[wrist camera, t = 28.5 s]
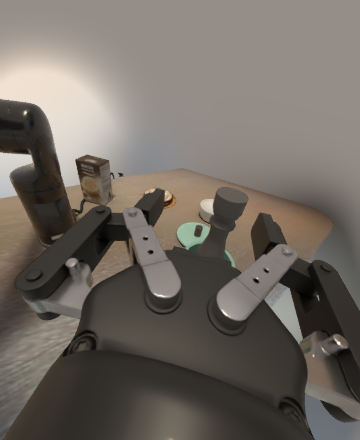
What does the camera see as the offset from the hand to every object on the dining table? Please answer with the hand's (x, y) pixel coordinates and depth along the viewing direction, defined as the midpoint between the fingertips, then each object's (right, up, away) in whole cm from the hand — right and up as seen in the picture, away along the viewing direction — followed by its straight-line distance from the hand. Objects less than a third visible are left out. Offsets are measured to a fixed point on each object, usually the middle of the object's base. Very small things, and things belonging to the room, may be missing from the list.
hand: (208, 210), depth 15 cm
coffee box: (-35, +7, +54) cm, 65 cm away
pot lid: (+3, -6, +44) cm, 44 cm away
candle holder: (+3, -16, +31) cm, 35 cm away
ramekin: (+10, 0, +55) cm, 56 cm away
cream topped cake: (-12, +8, +61) cm, 62 cm away
